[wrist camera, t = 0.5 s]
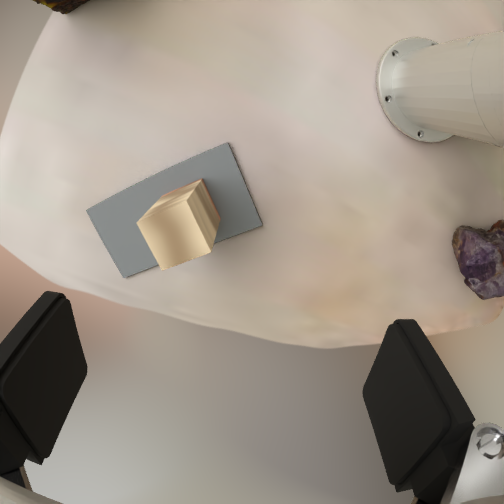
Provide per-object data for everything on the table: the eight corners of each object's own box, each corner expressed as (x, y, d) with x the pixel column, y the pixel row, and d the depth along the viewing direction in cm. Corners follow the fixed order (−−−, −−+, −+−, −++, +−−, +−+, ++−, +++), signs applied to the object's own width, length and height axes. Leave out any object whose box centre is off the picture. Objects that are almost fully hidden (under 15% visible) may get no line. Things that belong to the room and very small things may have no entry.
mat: (227, 142, 33) (227, 142, 33) (262, 224, 37) (262, 225, 37) (87, 209, 36) (86, 210, 36) (124, 276, 40) (123, 278, 40)
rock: (452, 209, 37) (437, 276, 41) (481, 230, 29) (458, 308, 33) (514, 220, 36) (497, 281, 40) (545, 241, 28) (522, 309, 32)
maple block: (202, 178, 34) (186, 200, 26) (220, 218, 36) (211, 252, 28) (162, 195, 35) (136, 222, 27) (181, 233, 37) (162, 270, 29)
